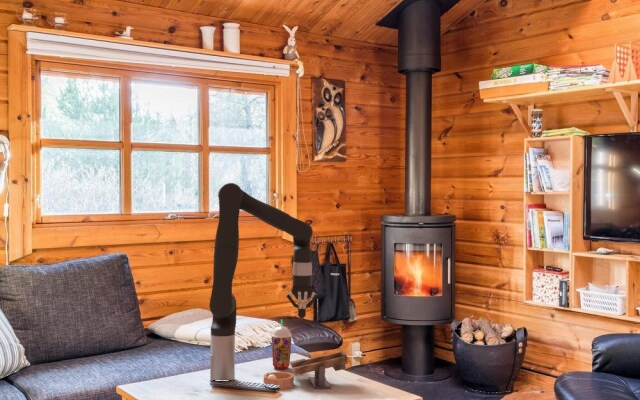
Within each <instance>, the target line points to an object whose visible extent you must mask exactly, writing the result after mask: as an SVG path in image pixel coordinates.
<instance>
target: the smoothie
mask: <svg viewBox="0 0 640 400" xmlns="http://www.w3.org/2000/svg"><path fill="white" fill-rule="evenodd" d="M270 337H271V352H272V367H274V368H273V369H274V370H276V371H285V370H288V369H289V367H290V366H291V365H290V362H291V350H292V349H291V348H292V333H291V331H290V329H289V328H288V327H287V326H283V319H280V325H279V326H277V327H276V328H274V330H273V331H272V333H271V335H270Z"/></svg>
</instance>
